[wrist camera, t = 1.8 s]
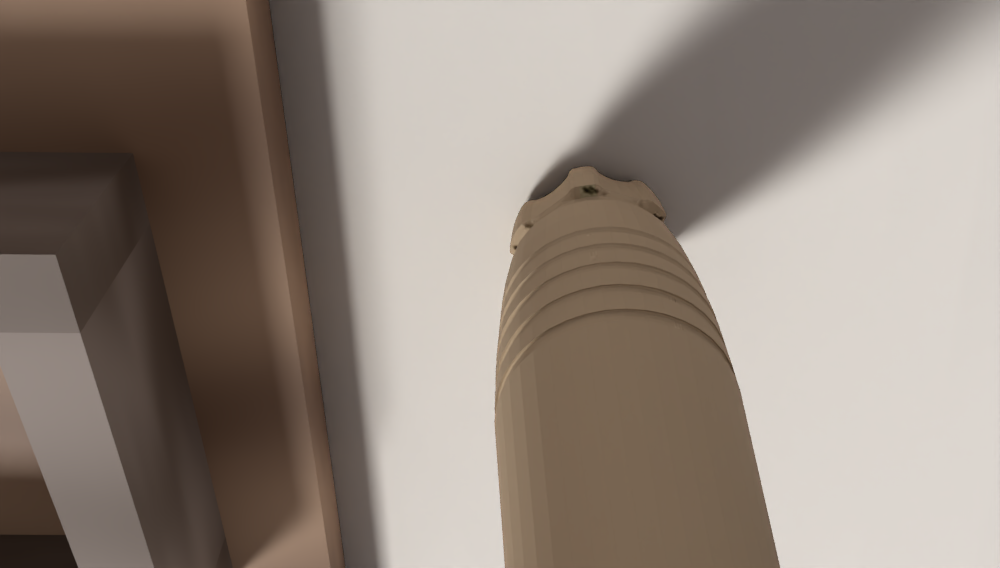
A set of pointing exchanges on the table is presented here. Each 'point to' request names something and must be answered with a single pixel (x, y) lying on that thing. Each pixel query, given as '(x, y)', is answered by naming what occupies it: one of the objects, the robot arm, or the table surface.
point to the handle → (618, 395)
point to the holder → (154, 295)
